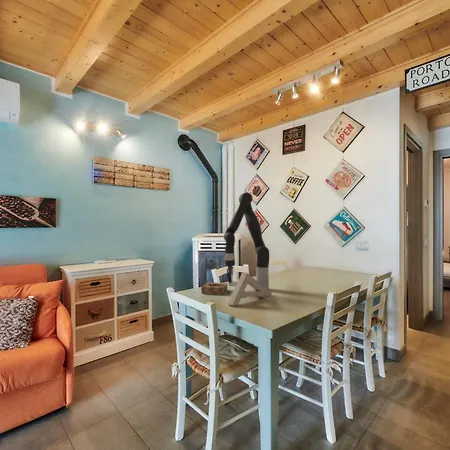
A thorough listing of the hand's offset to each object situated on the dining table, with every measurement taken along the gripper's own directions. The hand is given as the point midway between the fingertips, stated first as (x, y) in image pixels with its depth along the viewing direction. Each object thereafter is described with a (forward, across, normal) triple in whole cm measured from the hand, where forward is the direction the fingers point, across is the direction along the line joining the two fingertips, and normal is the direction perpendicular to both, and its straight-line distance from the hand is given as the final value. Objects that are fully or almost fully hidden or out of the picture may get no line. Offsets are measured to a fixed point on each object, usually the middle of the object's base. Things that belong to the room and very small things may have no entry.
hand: (230, 281), depth 205 cm
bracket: (+3, 0, -3) cm, 4 cm away
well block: (+6, -5, +11) cm, 14 cm away
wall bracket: (+8, -21, -17) cm, 28 cm away
